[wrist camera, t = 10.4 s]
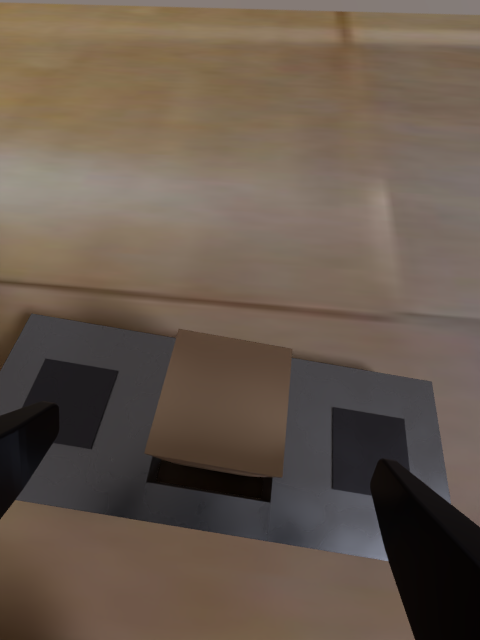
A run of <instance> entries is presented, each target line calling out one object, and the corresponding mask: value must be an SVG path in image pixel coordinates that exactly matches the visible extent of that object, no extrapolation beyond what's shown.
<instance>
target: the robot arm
mask: <svg viewBox="0 0 480 640" xmlns="http://www.w3.org/2000/svg"><path fill="white" fill-rule="evenodd" d="M59 428H60V426H59V406H58V404H56V403H52V402H47V401H41V402H38V403H35V404H32V405H29V406H26V407H23V408H20V409H18V410H15V411H12V412H9V413H6V414H3V415H1V416H0V519H1V517H2V516H3V515H4V514H5V512H6V511H7V510H8V508H9V507H10V506H11V505H12V503H13V502H14V501H15V499H16V498H17V497H18V495H19V494H20V493H21V491H22V490H23V489H24V487H25V486H26V484H27V483H28V481H29V480H30V478H31V477H32V475H33V473H34V472H35V470H36V469H37V467H38V466H39V464H40V463H41V461H42V459H43V458H44V456H45V455H46V453H47V452H48V450H49V449H50V447H51V445H52V444H53V442H54V441H55V439H56V437H57V435H58V433H59ZM370 490H371V495H372V499H373V503H374V507H375V511H376V515H377V520H378V524H379V528H380V532H381V536H382V540H383V544H384V548H385V551H386V555H387V558H388V561H389V564H390V567H391V570H392V573H393V576H394V579H395V582H396V585H397V588H398V591H399V593H400V596H401V599H402V602H403V605H404V608H405V611H406V614H407V617H408V620H409V623H410V626H411V629H412V632H413V635H414V638H415V640H480V527H479V526H478V525H476V524H475V523H474V522H473V521H471V520H470V519H469V518H468V517H466V516H465V515H464V514H462V513H461V512H460V511H459V510H457V509H456V508H455V507H454V506H452V505H451V504H450V503H449V502H447V501H446V500H445V499H444V498H442V497H441V496H440V495H439V494H437V493H436V492H435V491H434V490H432V489H431V488H430V487H429V486H427V485H426V484H425V483H424V482H422V481H421V480H420V479H419V478H417V477H416V476H415V475H413V474H412V473H411V472H410V471H408V470H407V469H406V468H405V467H403V466H402V465H401V464H400V463H398V462H397V461H395V460H391V459H385V458H381V459H379V461H378V462H377V465H376V468H375V470H374V473H373V476H372V478H371V482H370Z"/></svg>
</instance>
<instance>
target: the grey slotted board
mask: <svg viewBox="0 0 480 640" xmlns="http://www.w3.org/2000/svg"><path fill="white" fill-rule="evenodd" d="M175 341H176V338H172V337H166V336H160V335H154V334H148V333H143V332H137V331H131V330H125V329H119V328H113V327H107V326H101V325H96V324H90V323H84V322H78V321H72V320H66V319H60V318H54V317H49V316H43V315H37V314H31V316H30V317H29V319H28V321H27V323H26V325H25V327H24V328H23V330H22V332H21V334H20V336H19V338H18V340H17V341H16V343H15V345H14V347H13V349H12V351H11V352H10V354H9V356H8V358H7V360H6V362H5V363H4V365H3V367H2V369H1V371H0V416H1V415H3V414H6V413H9V412H12V411H15V410H18V409H20V408H23V407H26V406H29V405H32V404H35V403H38V402H41V401H47V402H52V403H56V404H58V406H59V426H60V428H59V433H58V435H57V437H56V439H55V441H54V442H53V444H52V445H51V447H50V449H49V450H48V452H47V453H46V455H45V456H44V458H43V459H42V461H41V463H40V464H39V466H38V467H37V469H36V470H35V472H34V473H33V475H32V477H31V478H30V480H29V481H28V483H27V484H26V486H25V487H24V489H23V490H22V491H21V493H20V494H19V495H18V497H17V498H16V499H15V500H19V501H25V502H32V503H38V504H44V505H50V506H56V507H62V508H68V509H74V510H80V511H86V512H93V513H99V514H105V515H111V516H117V517H123V518H129V519H135V520H141V521H147V522H154V523H160V524H166V525H172V526H178V527H184V528H190V529H196V530H202V531H208V532H215V533H221V534H227V535H233V536H239V537H245V538H251V539H257V540H263V541H269V542H276V543H282V544H288V545H294V546H300V547H306V548H312V549H318V550H324V551H330V552H336V553H343V554H349V555H355V556H361V557H367V558H373V559H379V560H385V561H388V558H387V555H386V551H385V548H384V544H383V540H382V536H381V532H380V528H379V524H378V520H377V515H376V511H375V507H374V503H373V499H372V495H371V490H370V482H371V478H372V476H373V473H374V470H375V468H376V465H377V462H378V461H379V459H381V458H385V459H391V460H395V461H397V462H398V463H400V464H401V465H402V466H403V467H405V468H406V469H407V470H408V471H410V472H411V473H412V474H413V475H415V476H416V477H417V478H419V479H420V480H421V481H422V482H424V483H425V484H426V485H427V486H429V487H430V488H431V489H432V490H434V491H435V492H436V493H437V494H439V495H440V496H441V497H442V498H444V499H445V500H446V501H447V502H449V503H450V504H451V501H450V495H449V489H448V482H447V476H446V469H445V463H444V457H443V450H442V444H441V438H440V431H439V425H438V419H437V412H436V406H435V400H434V393H433V387H432V382H431V381H425V380H419V379H413V378H407V377H401V376H395V375H389V374H384V373H378V372H372V371H366V370H360V369H354V368H348V367H342V366H337V365H331V364H325V363H319V362H313V361H307V360H301V359H295V358H292V360H291V373H290V386H289V399H288V412H287V425H286V437H285V450H284V463H283V476H282V478H280V477H263V484H262V495H261V498H255V497H249V496H243V495H237V494H231V493H225V492H219V491H213V490H207V489H201V488H195V487H189V486H183V485H177V484H170V483H164V482H158V481H156V479H157V475H158V471H159V467H160V463H161V459H160V458H157V457H154V456H151V455H147V454H144V452H145V448H146V445H147V441H148V438H149V434H150V430H151V427H152V423H153V420H154V416H155V412H156V409H157V405H158V402H159V398H160V395H161V391H162V387H163V384H164V380H165V377H166V373H167V369H168V366H169V362H170V359H171V355H172V352H173V348H174V344H175Z"/></svg>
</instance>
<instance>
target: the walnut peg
mask: <svg viewBox="0 0 480 640" xmlns="http://www.w3.org/2000/svg"><path fill="white" fill-rule="evenodd" d="M291 360H292V349H289V348H284V347H278V346H273V345H267V344H261V343H256V342H250V341H244V340H239V339H233V338H227V337H222V336H216V335H211V334H205V333H199V332H194V331H188V330H182V329H179V330H178V334H177V337H176V341H175V344H174V348H173V352H172V355H171V359H170V362H169V366H168V369H167V373H166V377H165V380H164V384H163V387H162V391H161V395H160V398H159V402H158V405H157V409H156V412H155V416H154V420H153V423H152V427H151V430H150V434H149V438H148V441H147V445H146V448H145V452H144V454H147V455H151V456H154V457H157V458H160V459H163V460H166V461H169V462H172V463H175V464H178V465H184V466H190V467H195V468H201V469H207V470H213V471H218V472H224V473H230V474H236V475H241V476H251V477H280V478H282V476H283V463H284V450H285V437H286V425H287V412H288V399H289V386H290V373H291Z"/></svg>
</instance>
